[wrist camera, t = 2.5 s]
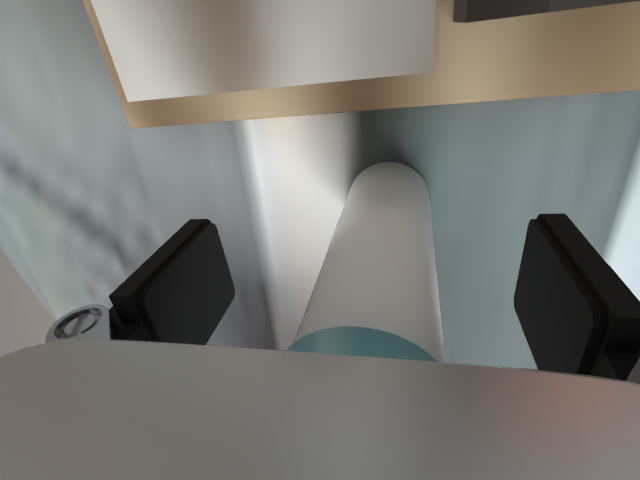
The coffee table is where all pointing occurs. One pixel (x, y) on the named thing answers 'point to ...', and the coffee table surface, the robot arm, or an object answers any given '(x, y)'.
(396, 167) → the cylinder
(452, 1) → the drawing board
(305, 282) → the coffee table surface
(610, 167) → the coffee table surface
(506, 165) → the coffee table surface
